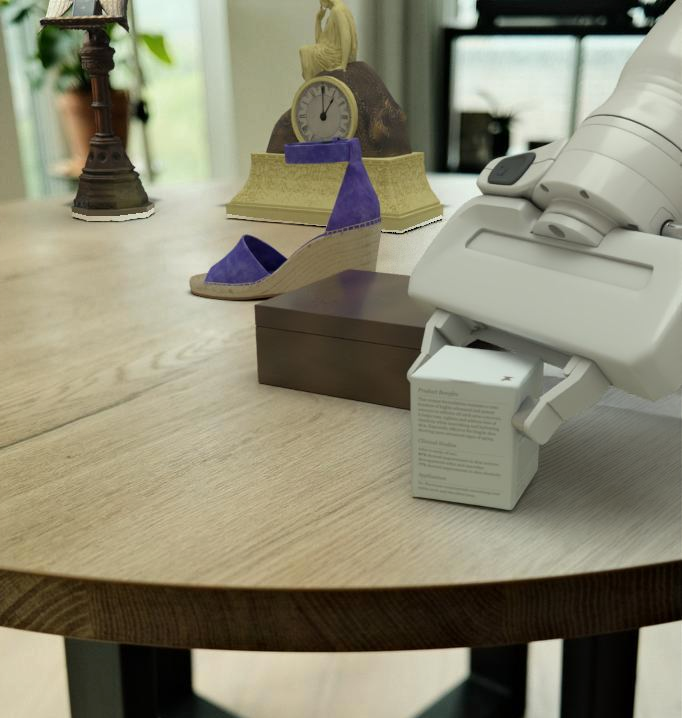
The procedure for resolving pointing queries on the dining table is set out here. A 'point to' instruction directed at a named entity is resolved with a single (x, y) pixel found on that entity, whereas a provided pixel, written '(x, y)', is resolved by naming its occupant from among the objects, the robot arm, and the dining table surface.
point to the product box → (472, 426)
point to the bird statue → (101, 112)
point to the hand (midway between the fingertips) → (468, 409)
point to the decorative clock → (345, 120)
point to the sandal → (318, 256)
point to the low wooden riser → (343, 337)
